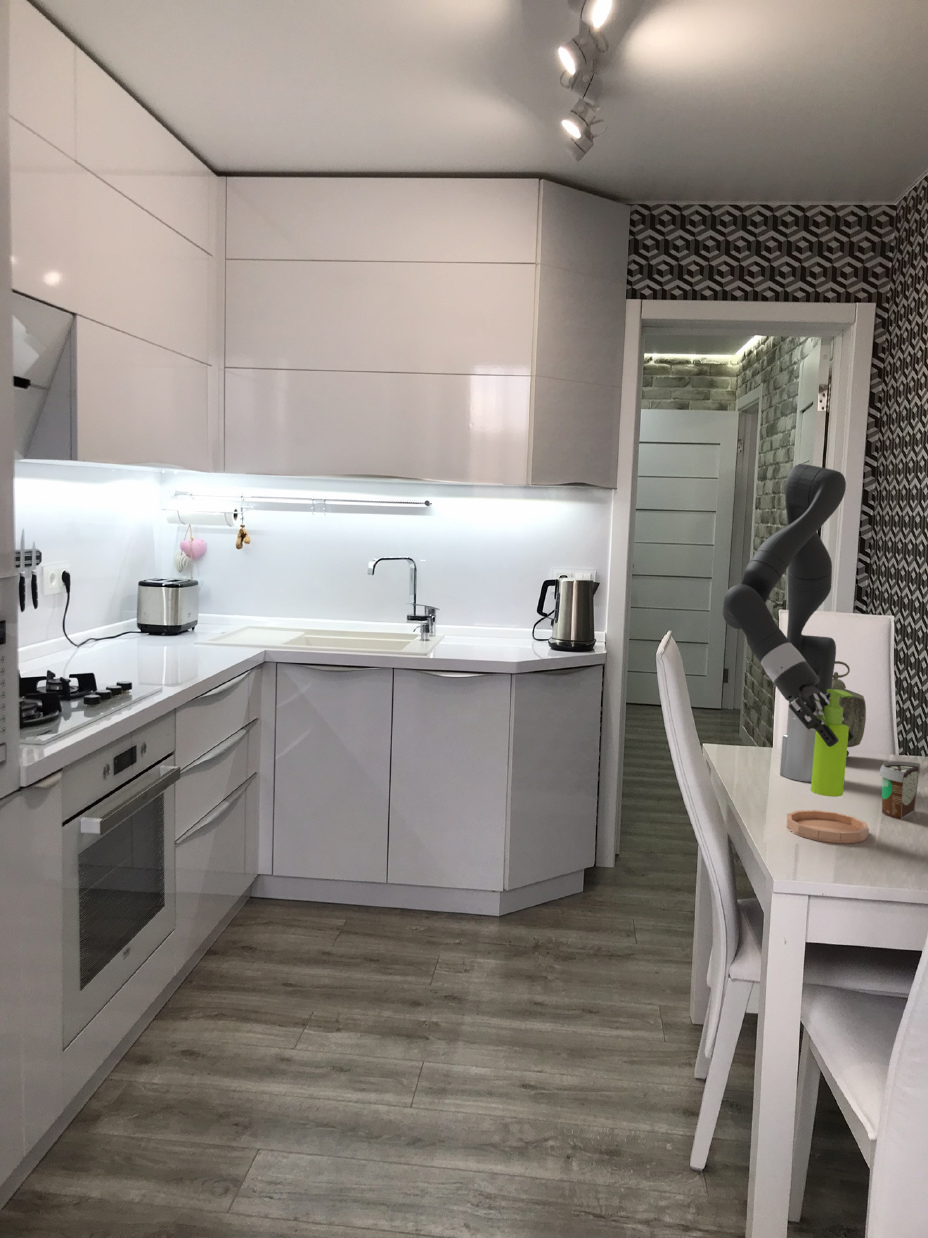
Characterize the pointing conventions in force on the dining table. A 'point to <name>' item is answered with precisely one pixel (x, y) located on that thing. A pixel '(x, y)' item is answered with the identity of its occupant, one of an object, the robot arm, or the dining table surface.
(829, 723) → the soap dispenser
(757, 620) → the robot arm
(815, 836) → the terracotta dish
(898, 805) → the food container
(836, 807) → the dining table surface
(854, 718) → the tabletop clock
